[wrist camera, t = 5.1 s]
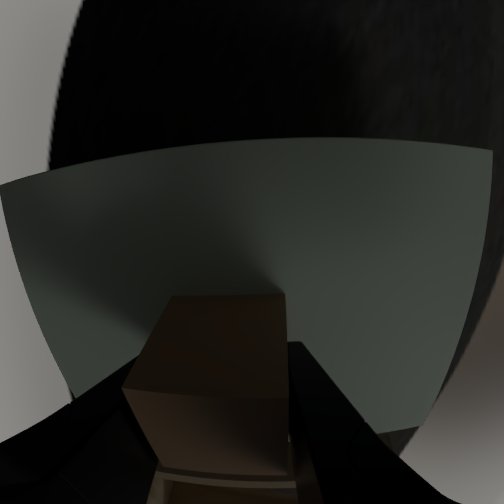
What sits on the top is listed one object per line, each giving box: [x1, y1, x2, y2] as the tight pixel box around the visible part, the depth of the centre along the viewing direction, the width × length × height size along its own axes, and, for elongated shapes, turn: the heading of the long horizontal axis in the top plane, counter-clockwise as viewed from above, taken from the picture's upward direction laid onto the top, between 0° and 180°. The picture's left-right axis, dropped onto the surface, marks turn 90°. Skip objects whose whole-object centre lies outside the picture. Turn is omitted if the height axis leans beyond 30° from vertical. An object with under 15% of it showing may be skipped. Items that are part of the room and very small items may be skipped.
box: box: [147, 432, 393, 504], centre depth 15 cm, size 10×14×6 cm
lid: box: [0, 137, 493, 475], centre depth 8 cm, size 11×15×6 cm
